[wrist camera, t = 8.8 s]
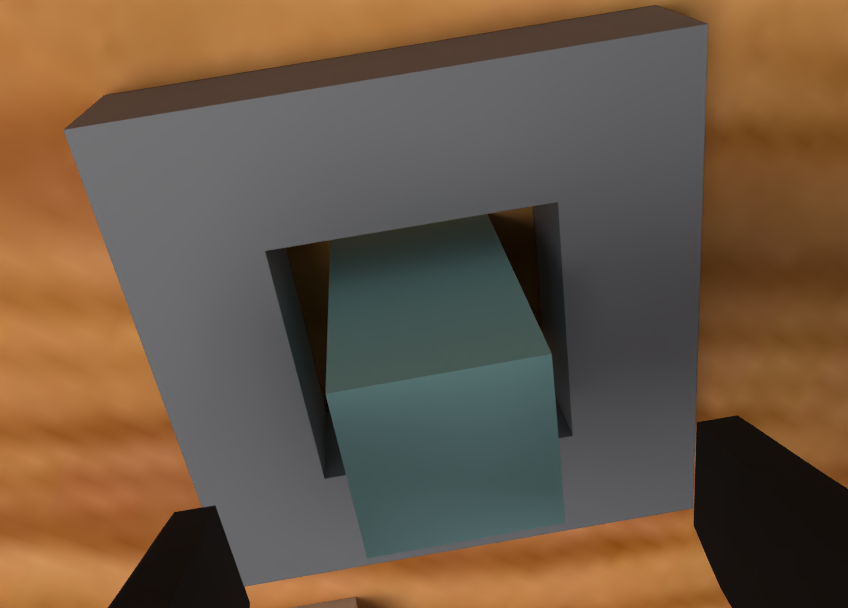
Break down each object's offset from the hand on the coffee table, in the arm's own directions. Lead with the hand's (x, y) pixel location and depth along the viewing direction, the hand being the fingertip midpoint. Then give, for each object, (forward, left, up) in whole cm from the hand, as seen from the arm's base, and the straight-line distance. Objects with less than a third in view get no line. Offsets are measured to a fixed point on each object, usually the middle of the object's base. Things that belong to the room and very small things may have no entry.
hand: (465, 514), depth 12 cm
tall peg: (0, 0, -7) cm, 7 cm away
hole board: (0, 0, -7) cm, 7 cm away
